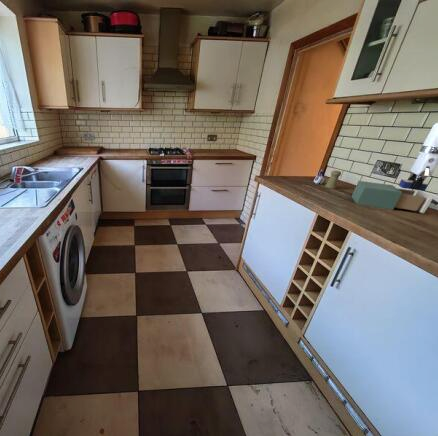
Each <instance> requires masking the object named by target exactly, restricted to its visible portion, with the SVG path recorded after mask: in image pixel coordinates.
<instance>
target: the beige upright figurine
mask: <svg viewBox="0 0 438 436" xmlns="http://www.w3.org/2000/svg"><path fill="white" fill-rule="evenodd" d="M341 175H342V171H340V170H337V169H334V170H332V171H331V172H330V177H329V178H328V180H327V181H326V184H325V186H324V187H325V188H328V189H333V190H334V189H337V187H338V183H339V178H340V176H341Z"/></svg>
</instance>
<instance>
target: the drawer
mask: <svg viewBox="0 0 438 436" xmlns="http://www.w3.org/2000/svg"><path fill="white" fill-rule="evenodd" d="M396 188H397V187H396ZM397 189H398V190H400V191H401V192H402V194H401V196H400V198H399V200H398V201H397V203H396V205H395V207H394V209H402V210H407V211H414V212H419V213H420V214H425V213H426V211H427V209H428V207H429V206H430V204H433V205H434V206H438V201H437V200H436V199H434V198H433V197H432V196H430V195H428V194H426V193H425V191H421V190H417V191H416V190H413V189H406V188H397ZM414 194H415V195H414Z"/></svg>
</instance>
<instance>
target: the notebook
mask: <svg viewBox="0 0 438 436" xmlns="http://www.w3.org/2000/svg"><path fill="white" fill-rule="evenodd" d="M412 182H413V181H412V180H408V179H400V182H399V184H398V186H399V187H400V188H401V189H406V190H411V189H410V186H411V184H412ZM428 185H429V184H428V183H426V182H425V181H424V182H423V183H422V185H421V186H420V188H419V189H418V190H417V189H413V191H422V192H425V190H426V189H427V187H428Z"/></svg>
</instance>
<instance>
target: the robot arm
mask: <svg viewBox="0 0 438 436" xmlns="http://www.w3.org/2000/svg"><path fill="white" fill-rule="evenodd" d="M418 153H419V155H418V156H417V158H416V159H415V161H414V163H413V164H412V166H411V168H410V175H409V176H408V178H407V180H412V181H413V182H412V184H411V186H410V189H409V190H414V189H417V190H416V191H419V190H418V189H419V188H420V186H421V185H422V183H423V182H424V183H425V181H426V179H427V178H428V177H431V176H432V175H433V174H434V172H435V170H436V168H437V166H438V122H436V123H434V124H433V126H432V127H431V129H430V131H429V133H427V137H426V138H425V140H424V142H423V144H422V145H421V147H420V149H419V151H418Z"/></svg>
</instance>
